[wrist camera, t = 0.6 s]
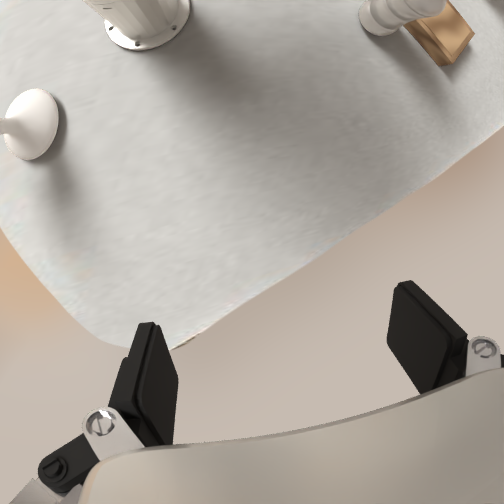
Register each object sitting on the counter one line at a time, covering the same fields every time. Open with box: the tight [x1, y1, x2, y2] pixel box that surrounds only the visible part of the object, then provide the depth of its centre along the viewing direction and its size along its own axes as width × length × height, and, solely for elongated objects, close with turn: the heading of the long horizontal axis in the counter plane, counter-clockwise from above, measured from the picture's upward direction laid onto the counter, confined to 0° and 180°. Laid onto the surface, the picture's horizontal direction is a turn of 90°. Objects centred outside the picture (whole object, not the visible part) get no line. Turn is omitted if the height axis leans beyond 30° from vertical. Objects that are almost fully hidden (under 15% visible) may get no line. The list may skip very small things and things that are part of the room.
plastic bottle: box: [359, 0, 447, 36], centre depth 26 cm, size 6×7×20 cm
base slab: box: [403, 0, 475, 66], centre depth 33 cm, size 11×11×4 cm
